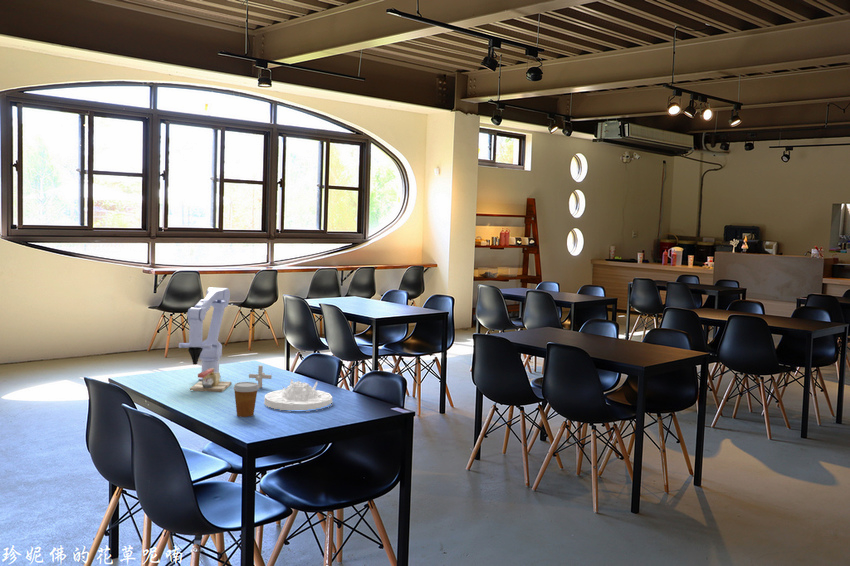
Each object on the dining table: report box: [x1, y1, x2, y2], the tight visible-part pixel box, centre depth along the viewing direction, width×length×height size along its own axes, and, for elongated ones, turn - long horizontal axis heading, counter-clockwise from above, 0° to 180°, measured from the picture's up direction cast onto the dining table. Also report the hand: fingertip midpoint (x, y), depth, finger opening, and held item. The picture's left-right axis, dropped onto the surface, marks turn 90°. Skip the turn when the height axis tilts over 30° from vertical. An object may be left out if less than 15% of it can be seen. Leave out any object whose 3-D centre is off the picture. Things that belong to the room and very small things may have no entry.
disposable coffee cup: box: [232, 381, 260, 418], centre depth 273 cm, size 10×10×12 cm
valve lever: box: [197, 368, 214, 379], centre depth 310 cm, size 15×3×1 cm, turn 179°
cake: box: [263, 378, 333, 411], centre depth 295 cm, size 28×28×10 cm
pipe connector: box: [248, 364, 273, 389], centre depth 321 cm, size 10×10×10 cm
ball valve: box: [202, 371, 221, 388], centre depth 317 cm, size 16×6×7 cm, turn 1°
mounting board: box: [189, 380, 232, 393], centre depth 317 cm, size 16×14×1 cm
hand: (195, 364), depth 319 cm, fingers closed
